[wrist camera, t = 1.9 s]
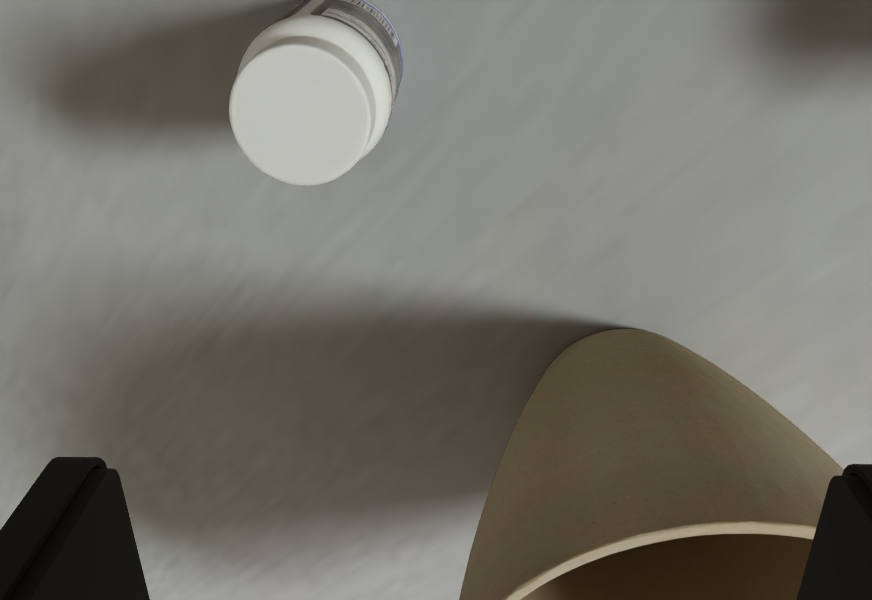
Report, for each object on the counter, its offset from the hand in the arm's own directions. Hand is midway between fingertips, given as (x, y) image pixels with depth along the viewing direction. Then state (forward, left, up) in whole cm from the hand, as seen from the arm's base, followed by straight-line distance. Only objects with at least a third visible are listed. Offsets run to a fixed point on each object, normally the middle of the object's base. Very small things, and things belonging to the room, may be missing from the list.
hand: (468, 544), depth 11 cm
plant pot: (+13, +7, -22) cm, 27 cm away
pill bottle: (-2, -5, -22) cm, 23 cm away
